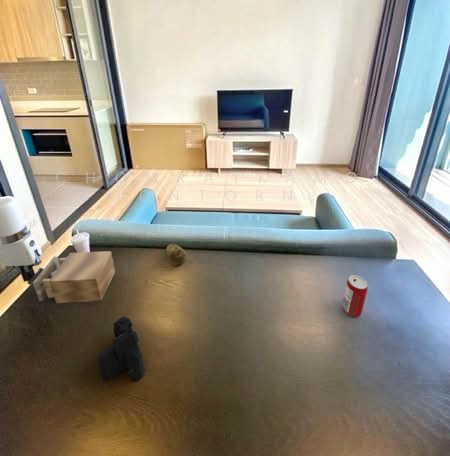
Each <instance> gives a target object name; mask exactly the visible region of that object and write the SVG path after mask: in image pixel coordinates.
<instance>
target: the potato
mask: <svg viewBox="0 0 450 456" xmlns="http://www.w3.org/2000/svg"><path fill="white" fill-rule="evenodd" d="M165 252H166V253H165V254H166V257H167V260H168V261H169V262H170V263H171V265H173V267H174V268H178V267H182V266H183V265H185V263H186V261H187V259H188V254H187V252H186V250H184V249H183V248H182V247H180V246H179V245H177V244H175V243H171V244H168V245H167V247H166V248H165Z"/></svg>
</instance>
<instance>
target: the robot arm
mask: <svg viewBox="0 0 450 456" xmlns="http://www.w3.org/2000/svg"><path fill="white" fill-rule="evenodd" d="M24 218H25V217H24V216H23V213H22V210H21V207H20V205H19V202H18V199H16V197H14V196H10V195H7V196H1V197H0V260H1V262H2V264H3V266H5V267H8V268H12V269H15V270H16V272H18V273H20V275H21V278H22V280H23V282H28V281H29V280H30V279H31V278H32V276H33V275H34V274H35V273H36V272H35V270H34V267H36V266H40V265H41V263H42V259H41V258H40V257H42V256H43V252H42V249H41V247H40V245H39V242H38V240H37V238H36V237H35V235H34V234H33V233H32V231H31V229H28V227H27V224H26V221H25V219H24Z"/></svg>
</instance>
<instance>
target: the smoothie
mask: <svg viewBox="0 0 450 456" xmlns="http://www.w3.org/2000/svg"><path fill="white" fill-rule="evenodd" d="M75 232H76V234H74V235H73V236H71V238H70V243H71V244H72V245H73V247H74V249H75V251H76V253H79V252H91V249H90V234H89V233H88V232H86V231H83V232H79V229H78V228H75Z"/></svg>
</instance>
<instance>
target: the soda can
mask: <svg viewBox="0 0 450 456" xmlns="http://www.w3.org/2000/svg"><path fill="white" fill-rule="evenodd" d="M367 293H368V282H367V280H366V279H364V278H363V277H362V276H359V275H356V274H352V275H350V276H349V277H348V279H347V281H346V284H345V289H344V293H343V298H342V304H341V306H342V307H341V308H342V309H343V311H344V312H345V314H346V315H349V317H354V318H358V317H361V315H362V313H363V309H364V305H365V301H366V298H367Z"/></svg>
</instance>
